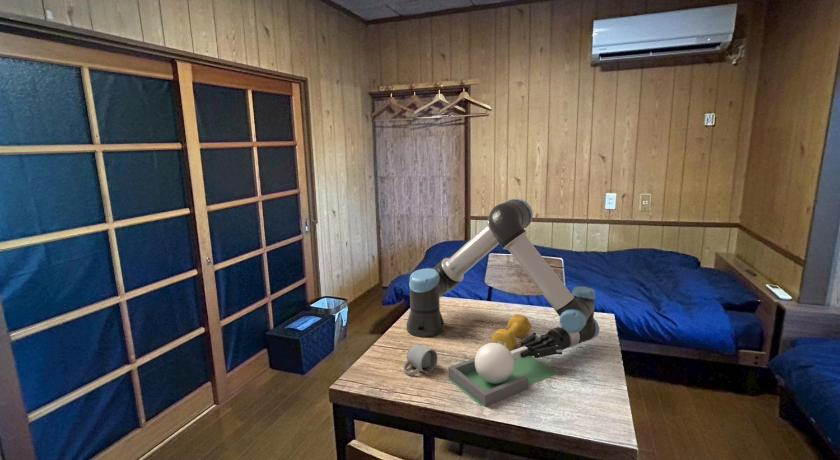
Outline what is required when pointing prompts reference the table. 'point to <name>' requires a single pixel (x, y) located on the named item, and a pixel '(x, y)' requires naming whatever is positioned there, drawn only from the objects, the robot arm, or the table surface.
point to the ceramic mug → (420, 359)
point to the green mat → (515, 374)
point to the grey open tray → (480, 394)
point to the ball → (494, 363)
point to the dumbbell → (512, 332)
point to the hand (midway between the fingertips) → (511, 356)
